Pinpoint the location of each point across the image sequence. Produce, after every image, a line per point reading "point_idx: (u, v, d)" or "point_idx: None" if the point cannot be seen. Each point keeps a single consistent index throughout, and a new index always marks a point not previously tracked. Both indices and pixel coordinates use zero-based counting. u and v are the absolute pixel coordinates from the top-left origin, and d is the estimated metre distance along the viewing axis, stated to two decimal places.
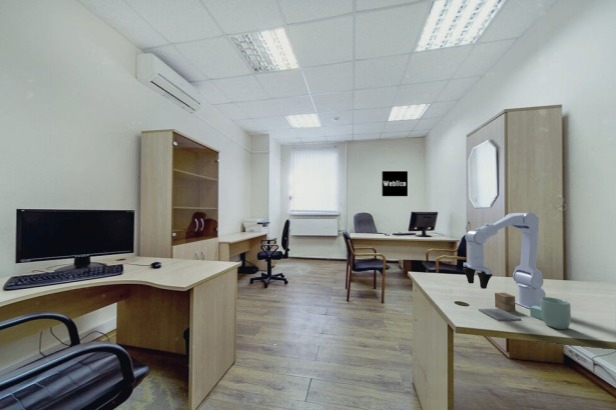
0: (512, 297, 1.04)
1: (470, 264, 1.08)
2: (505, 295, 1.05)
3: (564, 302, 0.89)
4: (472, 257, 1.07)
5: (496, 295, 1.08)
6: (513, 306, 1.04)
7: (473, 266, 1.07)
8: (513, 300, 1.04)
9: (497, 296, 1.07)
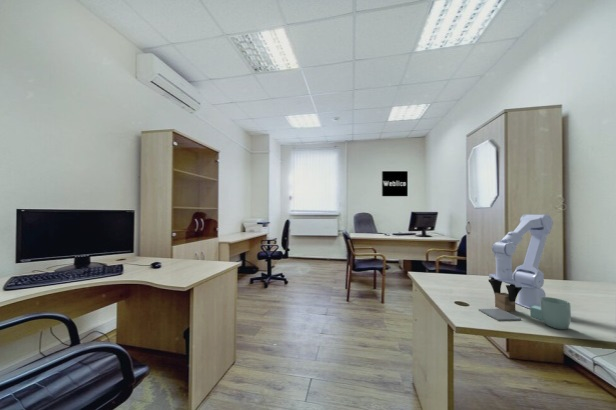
0: None
1: (498, 276, 1.06)
2: (505, 295, 1.05)
3: (564, 302, 0.89)
4: (500, 269, 1.05)
5: (496, 295, 1.08)
6: (513, 306, 1.04)
7: (501, 278, 1.05)
8: None
9: (497, 296, 1.07)
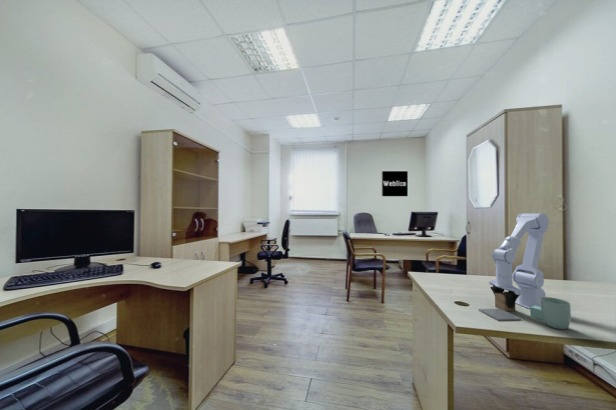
0: None
1: (498, 283, 1.06)
2: None
3: (564, 302, 0.89)
4: (500, 276, 1.05)
5: (496, 295, 1.08)
6: None
7: (501, 285, 1.05)
8: None
9: (497, 296, 1.07)
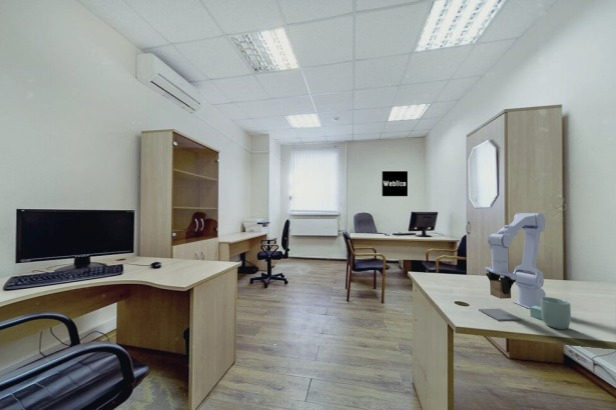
0: None
1: (493, 269, 1.03)
2: (500, 282, 1.01)
3: (564, 302, 0.89)
4: (496, 261, 1.02)
5: (491, 282, 1.04)
6: (509, 293, 1.00)
7: (497, 271, 1.01)
8: None
9: (492, 283, 1.03)
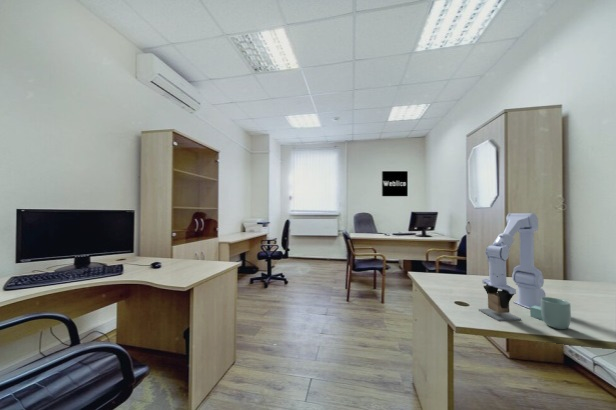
0: None
1: (491, 282, 1.00)
2: (498, 295, 0.99)
3: (564, 302, 0.89)
4: (493, 274, 0.99)
5: (489, 295, 1.01)
6: None
7: (495, 284, 0.98)
8: None
9: (490, 297, 1.01)
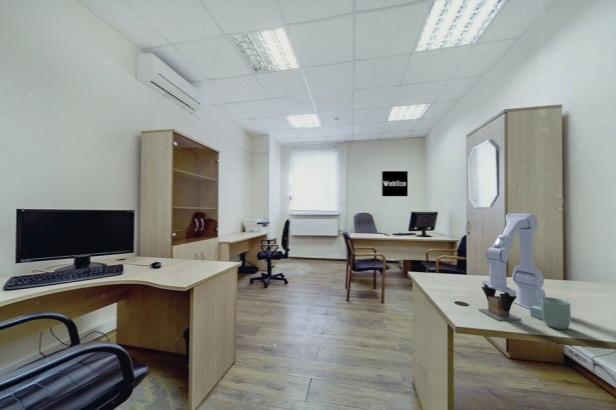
0: None
1: (491, 284, 1.00)
2: (499, 299, 0.99)
3: (564, 302, 0.89)
4: (494, 276, 0.99)
5: (489, 299, 1.01)
6: (507, 311, 0.97)
7: (495, 286, 0.98)
8: None
9: (490, 300, 1.01)
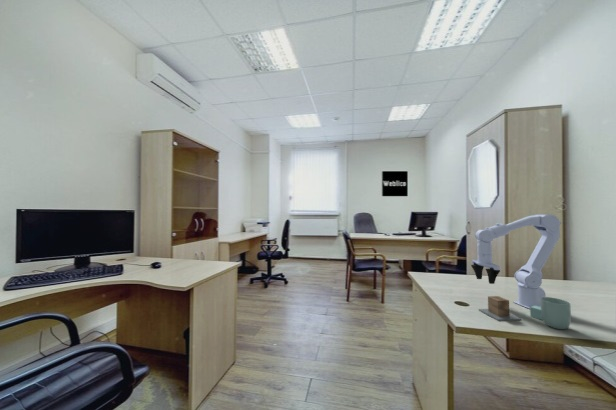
0: (506, 301, 0.97)
1: (479, 261, 1.15)
2: (499, 299, 0.99)
3: (564, 302, 0.89)
4: (481, 254, 1.14)
5: (489, 299, 1.01)
6: (507, 311, 0.97)
7: (482, 263, 1.14)
8: (507, 304, 0.97)
9: (490, 300, 1.01)
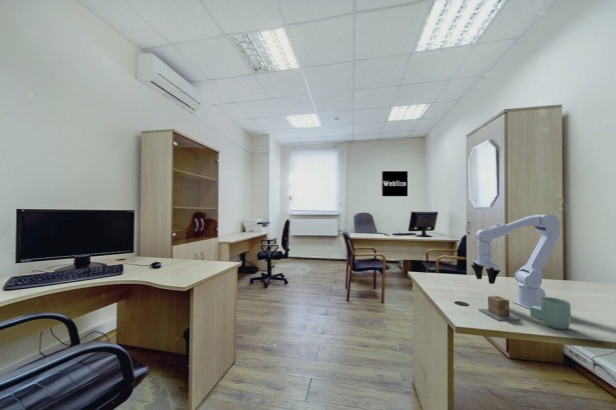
0: (506, 301, 0.97)
1: (479, 261, 1.15)
2: (499, 299, 0.99)
3: (564, 302, 0.89)
4: (481, 254, 1.14)
5: (489, 299, 1.01)
6: (507, 311, 0.97)
7: (482, 263, 1.14)
8: (507, 304, 0.97)
9: (490, 300, 1.01)
